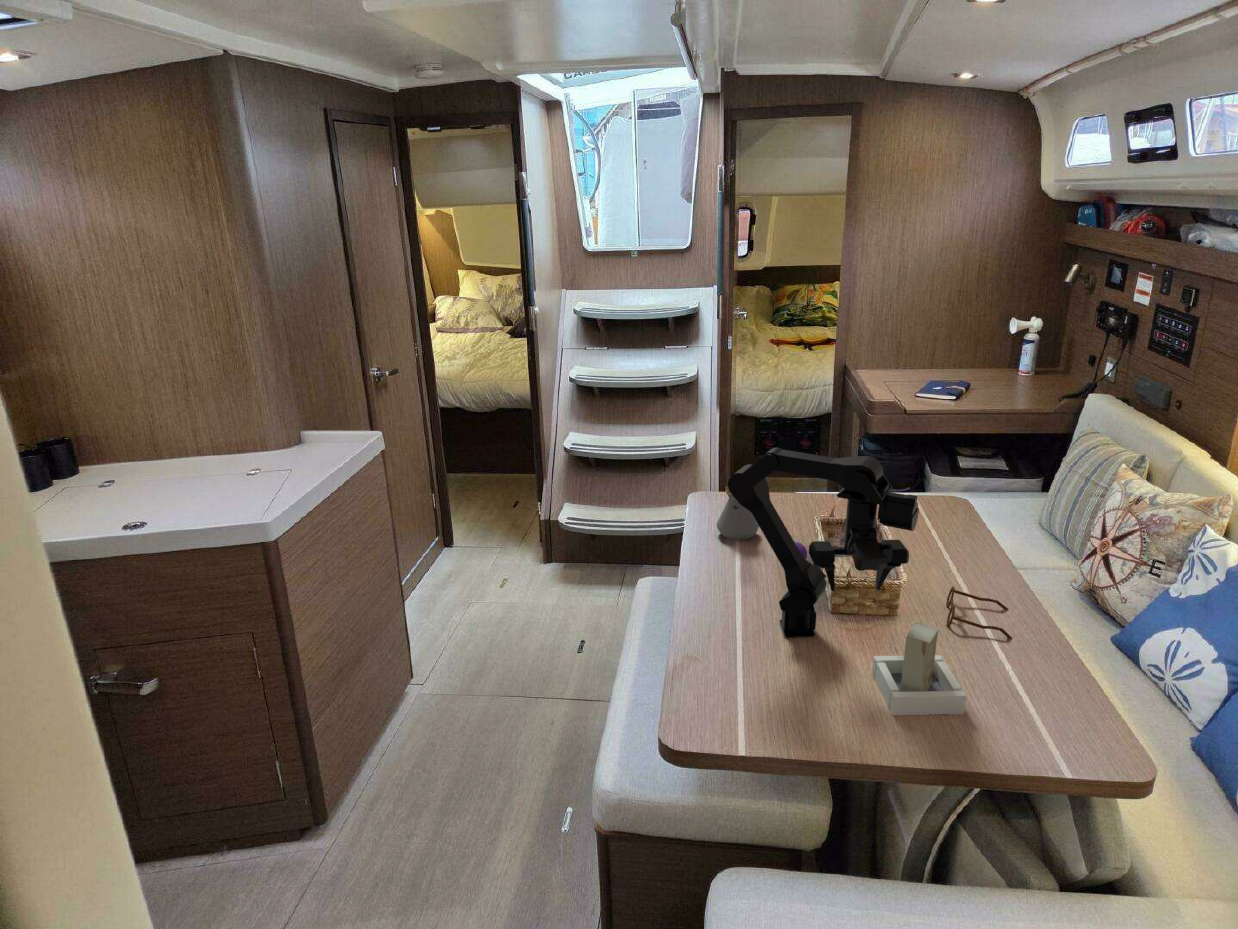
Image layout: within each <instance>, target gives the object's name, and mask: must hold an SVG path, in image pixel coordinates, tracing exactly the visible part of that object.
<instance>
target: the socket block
mask: <svg viewBox="0 0 1238 929" xmlns="http://www.w3.org/2000/svg"><path fill="white" fill-rule="evenodd" d="M903 662H904V655H874V656H873V659H872V666H871V667H872V668H871V675H872V677H873V676H874V677H873V678H874V679H875V680H874V681H875V683H876V685H877V687H878V689H879V691H880V693H881V695H882V697H883V700H884V701H885V703H886V706H887V707H888V709H889V711H890V713H891V716H936V715H937V714H939V716H941V715H940V714H949V715H964V714H965V709H966V702H967V694H966V693H965V692H964V690H962V686H961V685H960V684H959V682H958V680H957V679H956V677H955V676H954V675H953V673H952V671H951V669H950V668H949V667H948V665H947V663H946V662H945V661H944V659H943V657H942V656H941V655H940V654H935V659H934V666H933V675H932V683H931V686H930V688H929V690H928V691H926V692H900V688H901V680H902V671H903ZM929 714H931V715H929ZM935 714H936V715H935ZM937 716H938V715H937Z"/></svg>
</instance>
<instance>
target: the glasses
mask: <svg viewBox="0 0 1238 929" xmlns="http://www.w3.org/2000/svg"><path fill="white" fill-rule="evenodd" d="M955 594H956V595H957V594H958V595H961V596H965V597H966V598H970V599H973V600H977V601H981V602H982V601H983V602H990V603H995V604H996V605H998V606H999V607H1000V608H1002V610H1006V611H1009V608H1008V607H1006V606H1005V605H1004V604H1003V603H1001V602H1000V600H998V599H993V598H989V597H988V598H987V597H981V596H976V595H974V594H971V593H968V592H967V593H966V592H964V591H960V590H957V589H955V586H951V587H950V590H949V592H948V596H947V597H946V601H945V602H946V604H945V605H946V608H948V609H949V607H950V609H949V612H948V614H947V618H946V626H947V627H950V626H951V624H952V622H953V620H954V621H958V622H960V623H964V624H967V625H971V626H973V627H976V628H980V629H983V630H984V629H985V630H995V631H1000V632H1001V633H1002V635H1004V636H1005V638H1007V639H1011V640H1013V637H1012V636H1011V635H1010V634H1009V633H1008V632H1007V631H1006V630H1005V629H1004V628H1002V627H999V626H995V625H983V624H979V623H976V622H973V621H971V620H968V619H964V618H962V617H961V618H960V617H958V616H955V614H956V613H955V612H956V605H954V595H955Z"/></svg>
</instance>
